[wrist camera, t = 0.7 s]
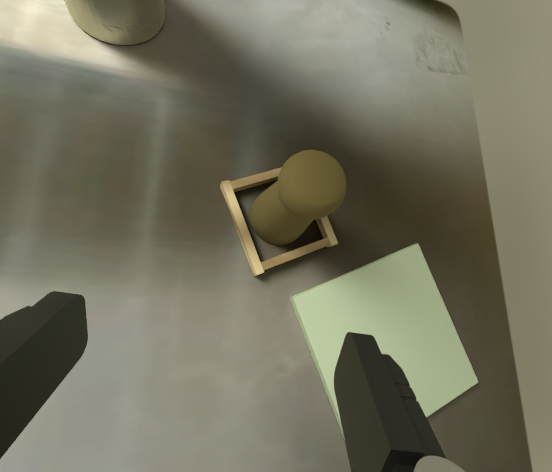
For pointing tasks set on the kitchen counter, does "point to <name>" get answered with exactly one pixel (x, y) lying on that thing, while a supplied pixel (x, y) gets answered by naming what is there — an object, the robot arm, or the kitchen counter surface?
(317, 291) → the sage board
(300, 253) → the oak holder frame
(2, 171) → the kitchen counter surface
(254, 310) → the kitchen counter surface
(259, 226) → the cork
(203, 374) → the kitchen counter surface
